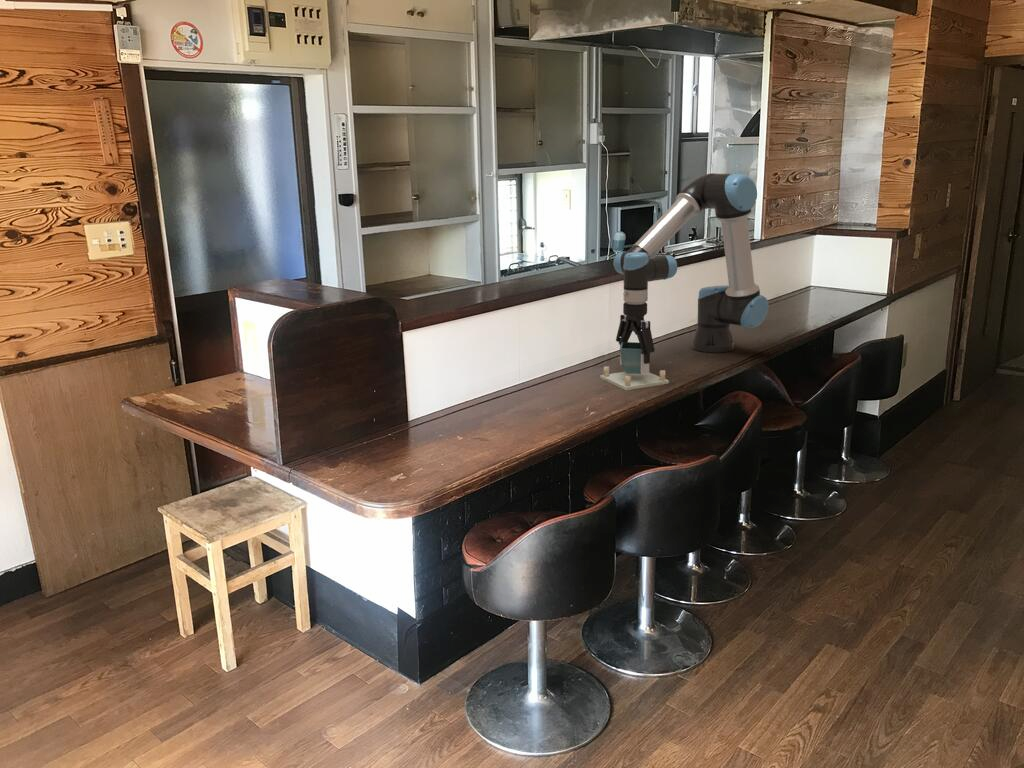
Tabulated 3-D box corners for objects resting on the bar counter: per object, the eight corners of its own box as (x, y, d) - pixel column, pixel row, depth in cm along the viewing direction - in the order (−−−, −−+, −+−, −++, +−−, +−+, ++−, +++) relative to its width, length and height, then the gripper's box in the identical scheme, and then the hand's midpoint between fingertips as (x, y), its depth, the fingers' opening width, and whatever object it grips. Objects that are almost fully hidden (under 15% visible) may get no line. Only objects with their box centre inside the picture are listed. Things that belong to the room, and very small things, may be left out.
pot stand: (641, 371, 281) (641, 360, 280) (668, 383, 267) (669, 371, 266) (600, 378, 275) (600, 366, 274) (626, 390, 261) (626, 378, 260)
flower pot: (647, 376, 265) (647, 348, 263) (619, 375, 267) (619, 348, 265) (648, 369, 274) (649, 342, 271) (621, 368, 275) (621, 341, 273)
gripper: (605, 297, 273) (605, 361, 279) (646, 309, 252) (645, 378, 258) (625, 295, 276) (624, 358, 282) (667, 307, 255) (665, 375, 261)
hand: (634, 368), depth 270 cm, fingers closed on flower pot, 12 cm apart
